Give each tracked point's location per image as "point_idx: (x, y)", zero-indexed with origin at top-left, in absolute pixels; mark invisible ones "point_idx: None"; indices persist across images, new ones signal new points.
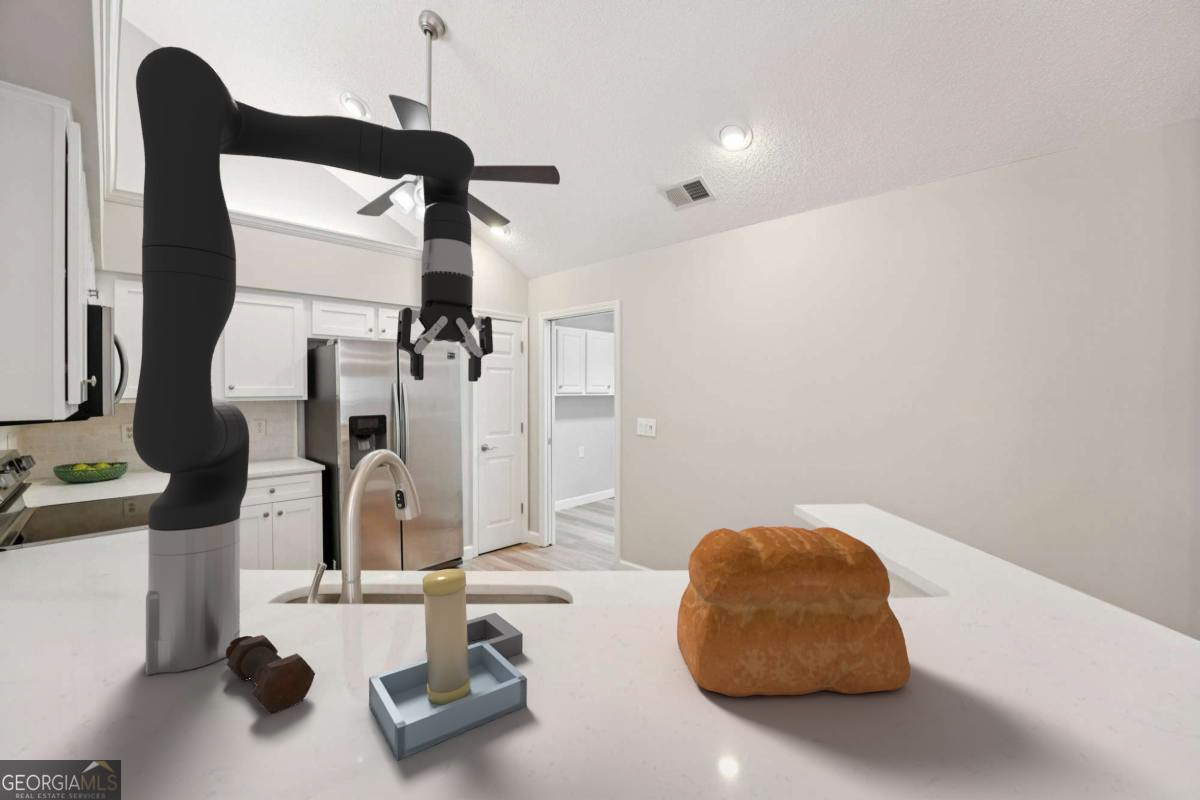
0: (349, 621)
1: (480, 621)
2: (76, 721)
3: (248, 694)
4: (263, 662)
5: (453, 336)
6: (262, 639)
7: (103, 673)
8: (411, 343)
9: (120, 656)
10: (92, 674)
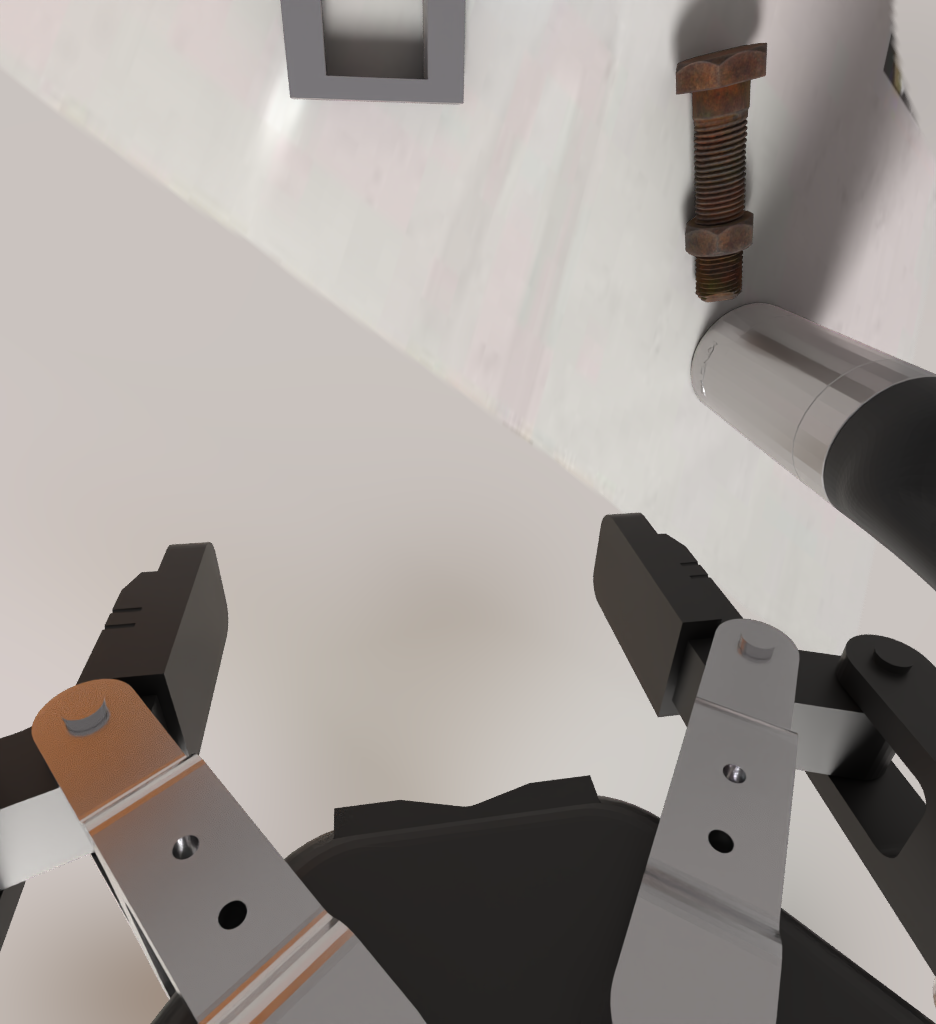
0: (532, 347)
1: (338, 76)
2: (886, 233)
3: None
4: (741, 142)
5: (422, 846)
6: (724, 229)
7: None
8: (832, 703)
9: None
10: None
